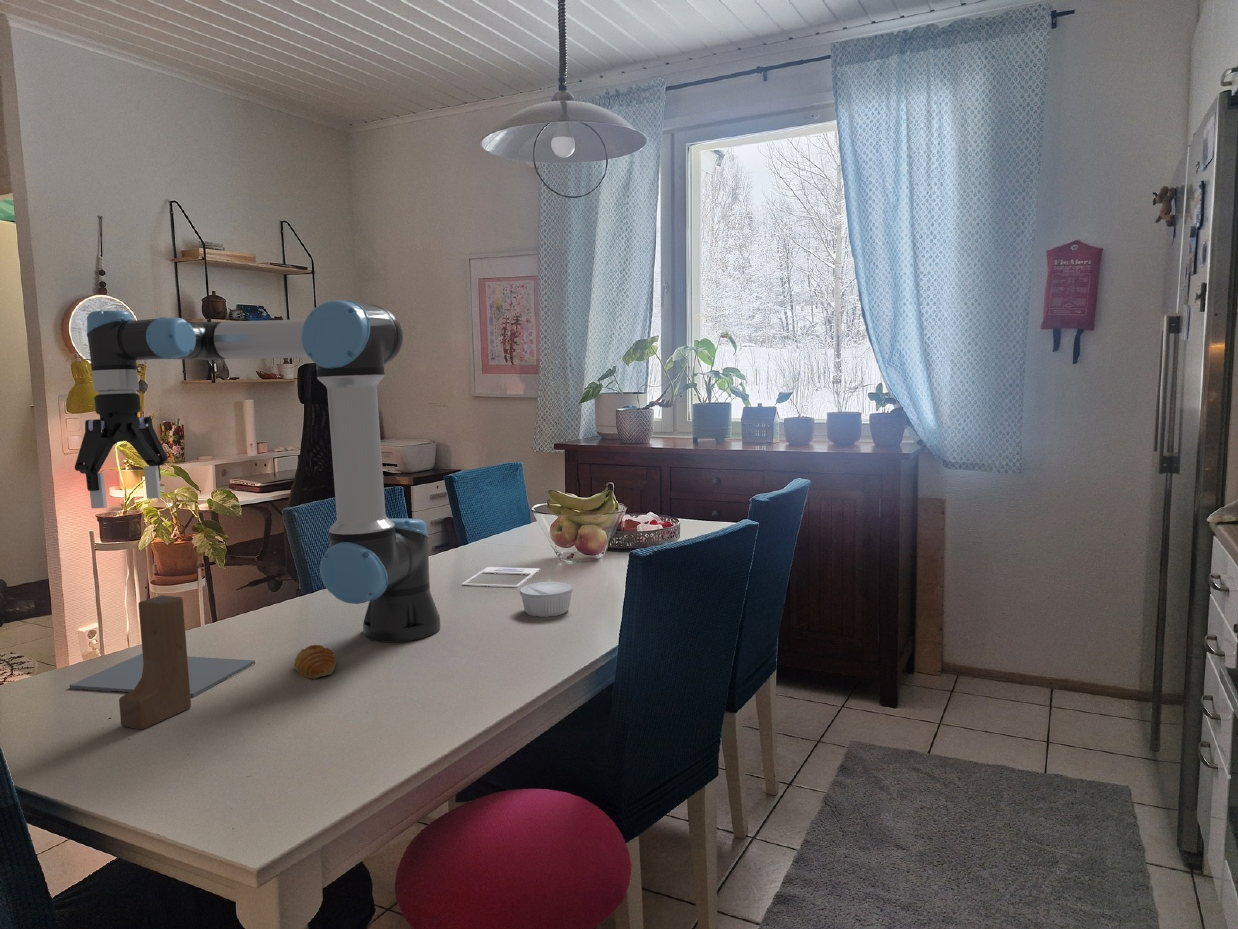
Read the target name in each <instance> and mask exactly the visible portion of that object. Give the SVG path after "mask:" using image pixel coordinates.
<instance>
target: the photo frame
mask: <svg viewBox="0 0 1238 929" xmlns="http://www.w3.org/2000/svg"><path fill="white" fill-rule="evenodd" d="M539 570H540V571H541V568H539V567H538V568H537V567H536V568H533V567H532V568H531V567H530V568H529V567H505V566H504V567H502V566H500V567H499V566H487V567H485V568H483V569H482V570H480V571H479V572H477V573H475V574H474V575H472V576H471V577H469V578H468V579H466V580H464V581H463V582H462V583H461V584H460V586H461V585H472V586H471V587H476V586H487V587H486V588H503V587H515V588H514V589H517V588H516V587H519V586H520V585H521V586H522V585H524V584H525V583H526V582H527V579H529V578H530V579H531V578H533V577H534V576H535V575H536V574H535V573H536V572H538V573H539V572H540V571H539ZM482 573H494V574H493V575H507V574H521V575H520V576H526V577H525V578H523V579H522V580H521V581H519V583H517V584H516V585H515V584H493V583H491V584H490V583H488V584H487V583H470V581H471V580H472V579H473V578H475V579H477V578H478V577H479V576H478V575H480V576H481V575H483V574H482ZM496 573H498V574H496ZM523 574H525V575H523ZM534 574H535V575H534ZM533 575H534V576H533ZM477 576H478V577H477ZM532 576H533V577H532ZM476 577H477V578H476ZM530 579H529V580H530ZM472 581H473V580H472ZM472 581H471V582H472ZM468 582H469V583H468ZM524 582H525V583H524ZM523 583H524V584H523ZM488 586H490V587H488ZM521 586H520V587H521ZM520 587H519V588H520Z"/></svg>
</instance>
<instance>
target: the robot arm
mask: <svg viewBox="0 0 1238 929" xmlns="http://www.w3.org/2000/svg"><path fill="white" fill-rule="evenodd" d="M86 329H87V331H86V332H87V333H86V337H87V341H88V343H87V344H88V349H89V357H90V366H91V368H90V369H91V376H92V384H93V391H94V392H95V393H97V394H95V396H94V397H93V400H94V409H95V413H96V414H97V415H99V419H98V418H97V419H96V418H95V419H86V420H85V422H84V433H83V434H84V435H83V437H82V441H81V445H80V448H79V451H78V454H77V457H76V458H77V459H76V461H75V464H74V470H75V471H76V472H79V473H80V474H85V479H86V480H85V481H86V489H87V490H88V492H89V498H90V505H91V507H90V508H91V509H108V504H107V503H108V502H107V494H106V483H105V474H104V472H100V470H101V469H102V467H103V465H104V463H105V461H106V460H107V458H108V456H109V454H110V452H111V450H112V449H113V447H114V445H117V443H120V442H127V443H129V444H130V445H131V446H132V447H133V449H134V450H135V451H136V452H137V453H138V456H140V457H141V459H142V460H143V462H144V463H146V464H147V465H146V466H143V470H144V471H143V472H144V480H145V481H144V482H145V490H146V491H145V493H146V499H147V500H149V499H152V500H153V499H154V500H155V499H162V493H161V479H162V478H161V466H164V465H165V462H167V461H168V456H167V453H166V451H165V449H164V447H163V446H162V443H161V440H160V439H159V437H158V435H157V433H156V430H155V429H154V425H153V420H152V417H151V416H140V417H139V415H138V414H139V413H140V412H141V411H142V406H141V397H140V395H139V393H137V391H139V390H140V384H139V375H138V366H137V364H138V363H137V361H145V360H146V361H148V360H151V361H152V360H200V361H202V360H204V361H219V360H240V359H243V360H246V359H253V360H255V359H305V358H306V359H308V358H309V359H311V361H312V362H313V363H315V364H316V367H315V369H316V379H317V380H318V381H319V382H320V383H321V384H323V385H324V386H325V387H326V390H327V392H326V393H327V403H328V415H329V417H328V418H329V419H328V420H329V430H330V431H329V432H330V442H331V443H330V444H331V446H330V447H331V456H332V457H331V458H332V469H333V484H334V485H333V486H334V496H335V508H336V509H335V510H336V520H335V522H334V523H333V524H332V525H331V527H329V529H328V533H329V535H328V536H329V548H327V549H326V551H325V553H324V555H323V556H322V558H321V561H320V564H319V574H320V578H321V581H322V583H323V586H324V587H325V588H326V590H327V591H328V592H329V593H330V594H332V595H333V596H334V597H335V598H336V599H337V600H339V601H341V602H344V603H346V604H350V605H351V604H352V605H359V604H364V603H367V602H368V604H367V608H366V612H365V616H364V618H363V622H362V631H363V632H362V634H363V637H364V638H366V640H370V641H374V642H381V643H400V642H408V641H409V642H411V641H416V640H420V639H424V638H427V637H430V636H432V635H434V634H436V633H438V632H439V631H440V630H441V618H440V614H439V611H438V609H437V606H436V603H435V601H434V599H433V598H434V597H433V595H432V593H431V586H430V584H431V583H430V564H429V534H428V528H427V524H426V522H425V521H424V520H422V519H420V518H389V517H388V516H387V514H386V505H385V504H386V502H385V490H384V489H385V487H384V486H385V485H384V474H383V459H382V445H381V444H382V443H381V429H380V416H379V414H380V413H379V399H378V388H377V387H378V385H379V383H380V382H381V381H382V380H383V379H384V378H385V365H386V364H388V363H390V362H391V361H393V360H394V359H395V358H396V357H397V356H398V354H399V353H400V351H401V349H402V347H403V341H404V340H403V339H404V335H403V334H404V332H403V329H402V326H401V323H400V322H399V320H398V319H397V317H396V316H395V315H394V314H393V313H392V312H391V311H390V310H388V309H386V308H384V307H383V306H380V305H375V304H368V303H367V304H366V303H361V302H357V301H353V300H344V299H342V300H329V301H328V300H327V301H325V302H323V303H321V304H319V305H316V307H315V308H313V310H312V311H311V312H309V314H308V315H307V317H306V318H305V319H304V318H303V319H281V320H280V319H276V320H274V319H273V320H271V319H270V320H243V321H242V320H239V321H238V320H237V321H188V320H187V321H186V319H184V318H182V317H168V316H164V317H159V318H149V319H139V320H134V319H133V318H132V314H131V313H130V312H128V311H124V310H116V309H115V310H114V309H113V310H111V309H110V310H95V311H94V310H93V311H91V312H89V313H88V314H87V316H86Z"/></svg>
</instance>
